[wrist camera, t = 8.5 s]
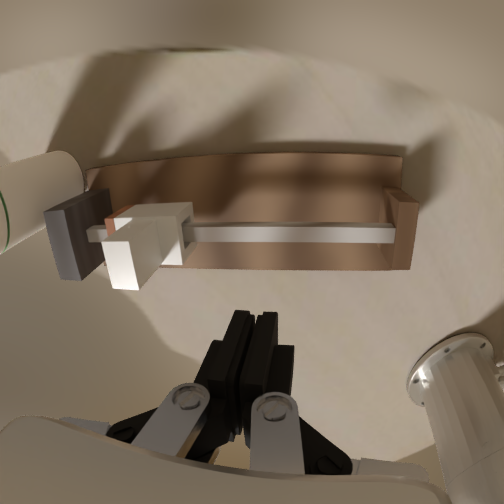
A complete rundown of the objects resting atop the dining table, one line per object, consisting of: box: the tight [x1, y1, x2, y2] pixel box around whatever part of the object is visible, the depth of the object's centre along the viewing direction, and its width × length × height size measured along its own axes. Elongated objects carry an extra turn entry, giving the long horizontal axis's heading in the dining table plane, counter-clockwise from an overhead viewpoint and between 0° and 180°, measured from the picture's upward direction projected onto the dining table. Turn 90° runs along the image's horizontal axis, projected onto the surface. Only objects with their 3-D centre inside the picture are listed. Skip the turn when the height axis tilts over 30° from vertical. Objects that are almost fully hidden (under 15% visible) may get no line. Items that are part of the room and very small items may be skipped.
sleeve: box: [101, 202, 197, 290], centre depth 21 cm, size 5×4×8 cm
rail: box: [43, 152, 419, 281], centre depth 23 cm, size 28×10×8 cm, turn 93°
